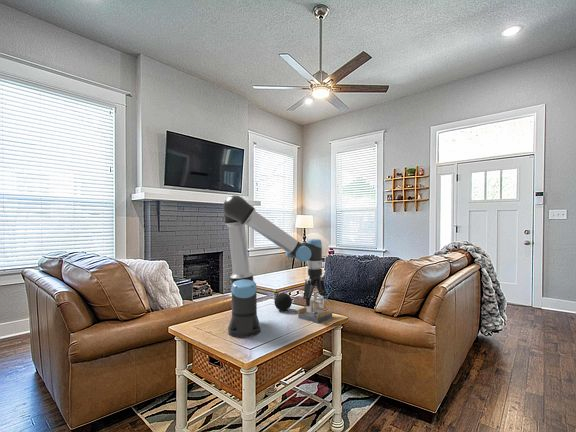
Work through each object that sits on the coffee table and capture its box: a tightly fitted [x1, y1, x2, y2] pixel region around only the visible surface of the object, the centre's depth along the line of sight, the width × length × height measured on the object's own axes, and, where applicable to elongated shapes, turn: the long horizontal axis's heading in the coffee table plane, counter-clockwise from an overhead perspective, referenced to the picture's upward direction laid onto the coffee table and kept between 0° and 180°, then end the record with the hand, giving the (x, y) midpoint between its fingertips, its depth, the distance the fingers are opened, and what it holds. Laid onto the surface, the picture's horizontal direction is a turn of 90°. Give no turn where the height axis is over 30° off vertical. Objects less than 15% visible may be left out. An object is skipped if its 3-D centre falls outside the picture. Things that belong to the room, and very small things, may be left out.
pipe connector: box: [310, 290, 324, 311], centre depth 169 cm, size 10×10×10 cm
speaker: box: [273, 292, 293, 312], centre depth 182 cm, size 10×10×10 cm
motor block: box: [297, 304, 333, 324], centre depth 169 cm, size 13×13×4 cm
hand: (315, 309), depth 169 cm, fingers closed on pipe connector, 10 cm apart
